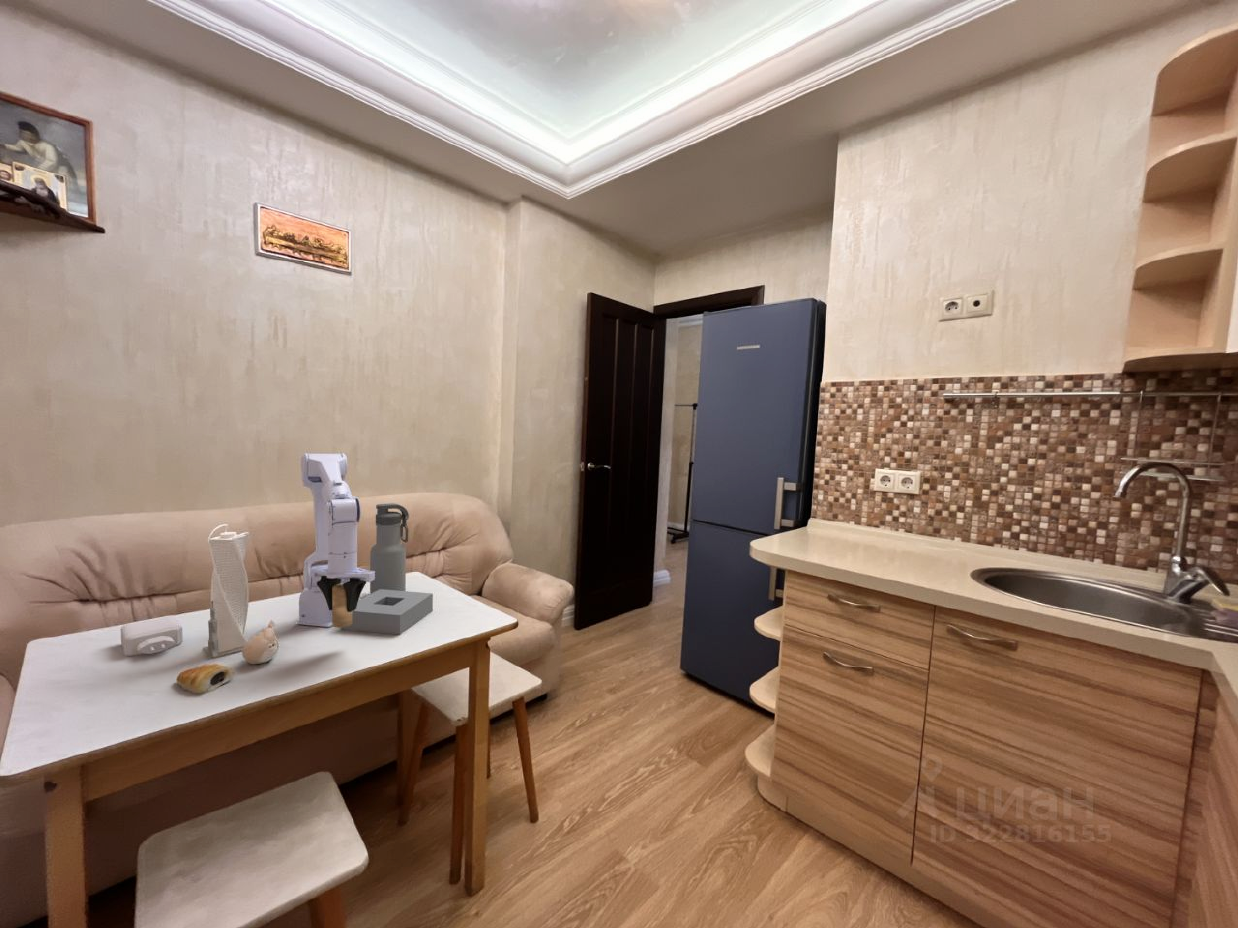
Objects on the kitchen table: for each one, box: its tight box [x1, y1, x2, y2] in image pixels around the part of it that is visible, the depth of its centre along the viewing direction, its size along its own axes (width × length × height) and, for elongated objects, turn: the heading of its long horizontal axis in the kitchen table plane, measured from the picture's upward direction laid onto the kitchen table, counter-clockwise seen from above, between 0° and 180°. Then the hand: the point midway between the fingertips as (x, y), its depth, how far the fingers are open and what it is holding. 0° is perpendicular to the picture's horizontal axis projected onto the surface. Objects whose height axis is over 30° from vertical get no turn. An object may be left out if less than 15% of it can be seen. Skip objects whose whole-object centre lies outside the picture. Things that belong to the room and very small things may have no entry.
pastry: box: [176, 663, 234, 695], centre depth 93 cm, size 9×7×4 cm
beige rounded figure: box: [241, 619, 280, 665], centre depth 102 cm, size 7×6×8 cm
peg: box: [331, 583, 353, 629], centre depth 108 cm, size 4×4×9 cm
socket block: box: [340, 589, 434, 636], centre depth 126 cm, size 16×16×5 cm
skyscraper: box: [202, 523, 250, 661], centre depth 106 cm, size 8×8×28 cm
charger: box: [120, 614, 184, 657], centre depth 105 cm, size 5×9×15 cm
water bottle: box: [369, 503, 410, 595], centre depth 143 cm, size 10×10×28 cm
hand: (342, 609), depth 108 cm, fingers closed on peg, 4 cm apart
